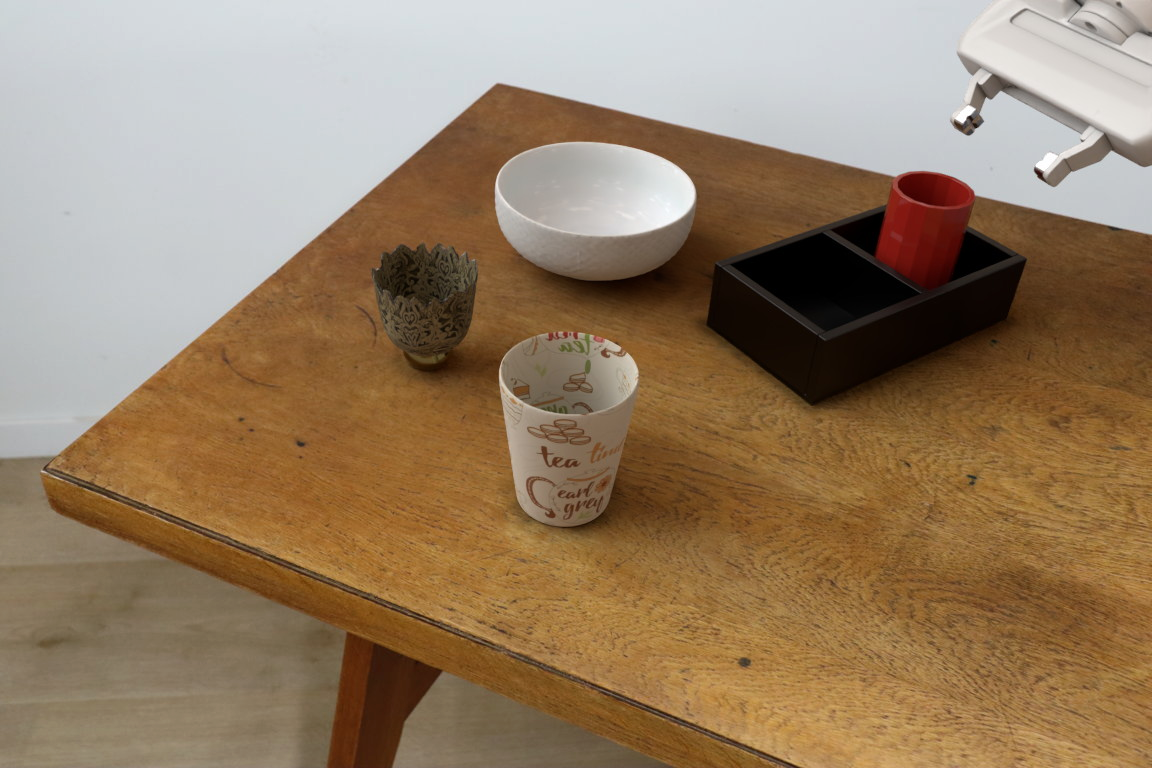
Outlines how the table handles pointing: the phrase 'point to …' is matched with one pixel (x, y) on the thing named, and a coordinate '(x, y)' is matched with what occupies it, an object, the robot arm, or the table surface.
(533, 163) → the cereal bowl
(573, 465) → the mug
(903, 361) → the caddy
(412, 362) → the cup
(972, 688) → the table surface
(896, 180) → the cup
